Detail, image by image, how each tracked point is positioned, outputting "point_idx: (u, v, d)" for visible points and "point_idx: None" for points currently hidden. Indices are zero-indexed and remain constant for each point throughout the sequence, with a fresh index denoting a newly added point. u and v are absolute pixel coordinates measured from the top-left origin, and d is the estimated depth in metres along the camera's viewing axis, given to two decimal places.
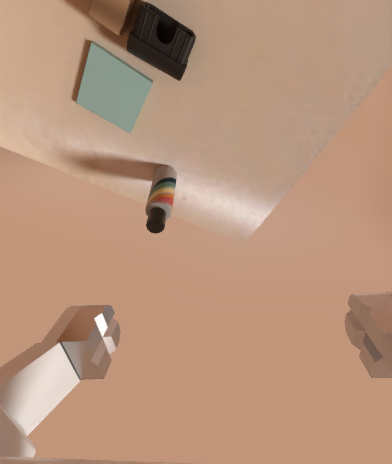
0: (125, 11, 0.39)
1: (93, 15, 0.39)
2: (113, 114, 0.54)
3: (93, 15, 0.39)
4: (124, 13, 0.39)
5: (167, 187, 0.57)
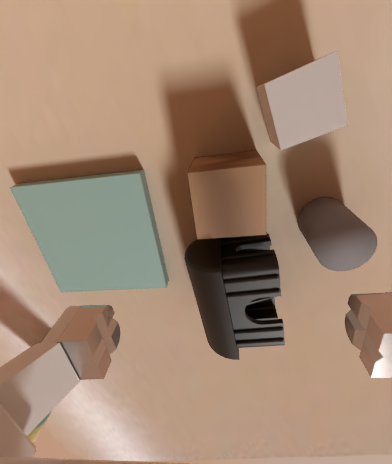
0: (244, 234, 0.18)
1: (193, 183, 0.17)
2: (62, 255, 0.25)
3: (194, 183, 0.17)
4: (240, 234, 0.18)
5: (35, 430, 0.27)
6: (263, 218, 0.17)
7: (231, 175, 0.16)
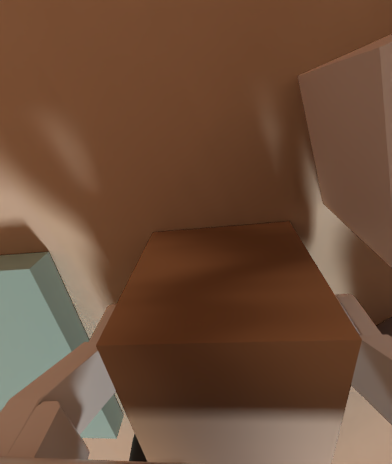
0: (271, 463, 0.07)
1: (119, 368, 0.05)
2: None
3: (121, 370, 0.05)
4: None
5: None
6: (328, 445, 0.06)
7: (238, 358, 0.05)
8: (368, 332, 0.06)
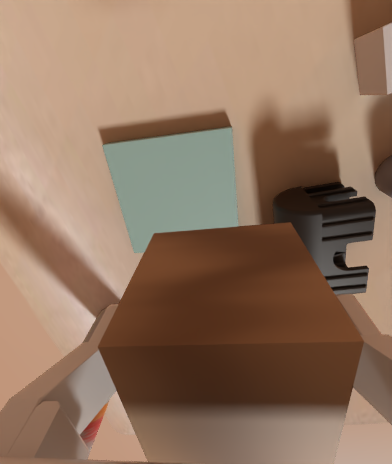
0: None
1: (120, 369, 0.05)
2: (141, 215, 0.26)
3: (123, 371, 0.05)
4: None
5: None
6: (329, 447, 0.06)
7: (240, 360, 0.05)
8: (368, 332, 0.06)
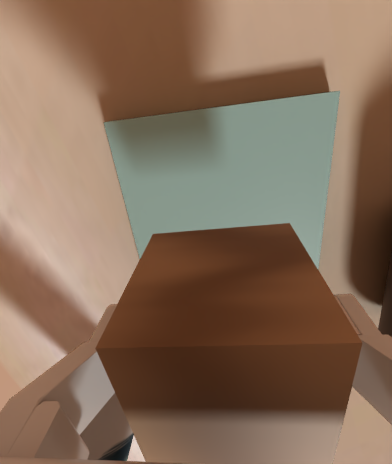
0: None
1: (119, 371, 0.05)
2: None
3: (121, 373, 0.05)
4: None
5: None
6: (328, 448, 0.06)
7: (238, 361, 0.05)
8: (368, 332, 0.06)
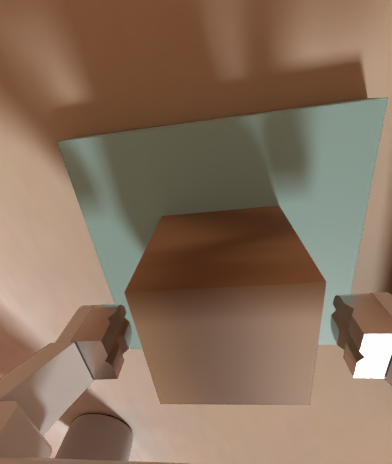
0: (262, 400, 0.08)
1: (141, 312, 0.07)
2: None
3: (143, 313, 0.07)
4: (253, 402, 0.08)
5: None
6: (306, 380, 0.08)
7: (234, 301, 0.06)
8: None
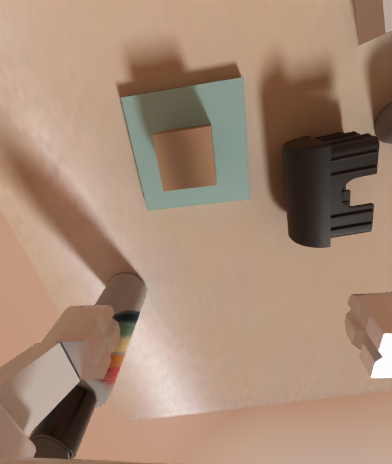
0: (200, 185, 0.23)
1: (157, 143, 0.22)
2: (156, 169, 0.28)
3: (157, 143, 0.21)
4: (196, 185, 0.23)
5: (127, 337, 0.28)
6: (213, 171, 0.22)
7: (185, 135, 0.21)
8: None
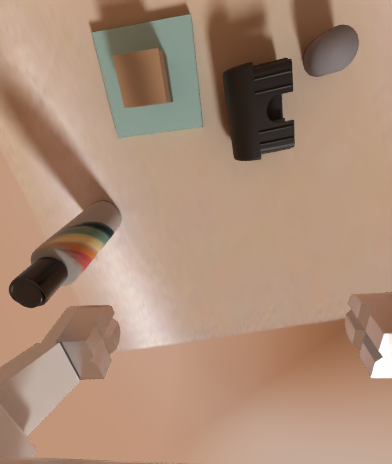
0: (153, 102, 0.28)
1: (116, 63, 0.27)
2: None
3: (117, 63, 0.27)
4: (150, 102, 0.28)
5: (99, 241, 0.34)
6: (162, 88, 0.28)
7: (138, 56, 0.26)
8: None
